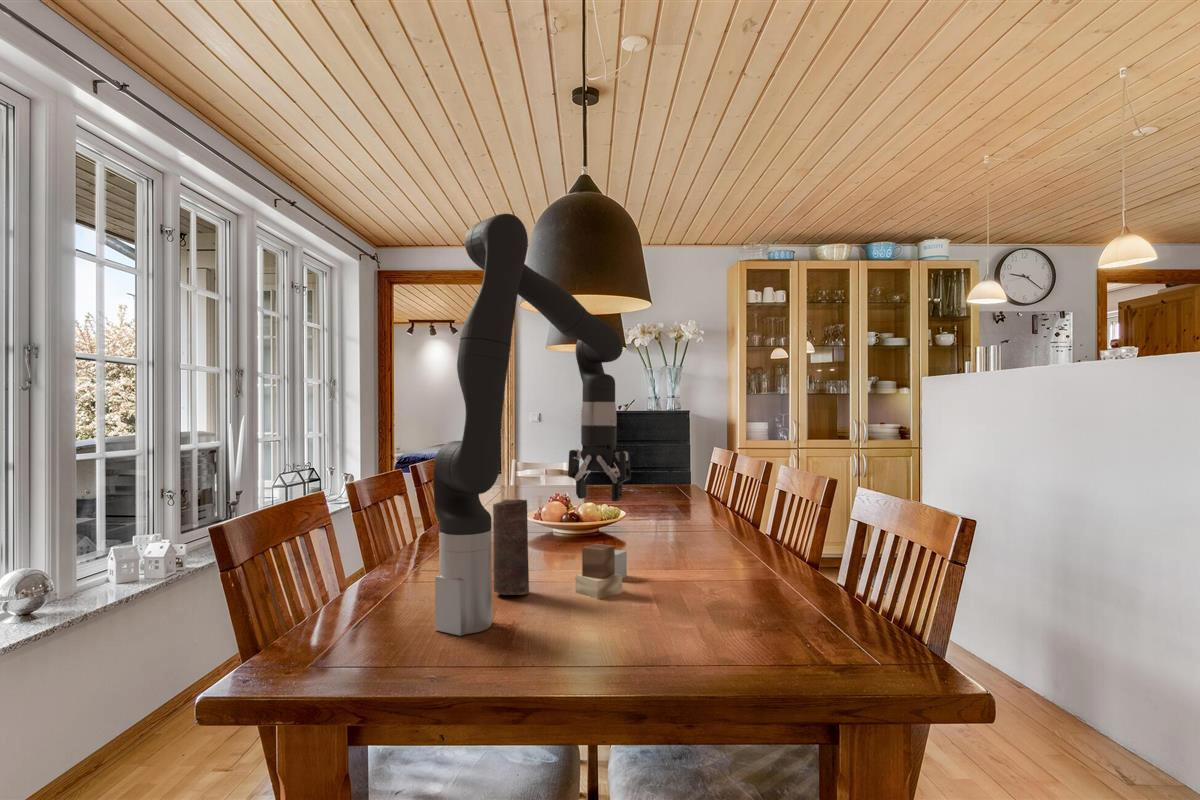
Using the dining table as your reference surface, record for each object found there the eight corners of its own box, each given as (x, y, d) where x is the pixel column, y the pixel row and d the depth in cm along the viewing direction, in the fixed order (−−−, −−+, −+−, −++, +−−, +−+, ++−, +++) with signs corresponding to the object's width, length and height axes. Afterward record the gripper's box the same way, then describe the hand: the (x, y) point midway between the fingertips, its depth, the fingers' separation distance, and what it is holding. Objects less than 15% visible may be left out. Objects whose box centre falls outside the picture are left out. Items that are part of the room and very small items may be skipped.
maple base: (597, 600, 136) (597, 581, 136) (575, 593, 141) (575, 574, 141) (622, 594, 141) (622, 575, 141) (600, 587, 146) (600, 569, 146)
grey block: (615, 581, 150) (615, 555, 150) (597, 578, 152) (596, 552, 152) (626, 577, 154) (626, 551, 154) (608, 574, 157) (608, 548, 157)
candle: (510, 602, 134) (510, 503, 134) (485, 596, 139) (485, 500, 139) (536, 593, 140) (535, 498, 140) (511, 588, 145) (511, 496, 145)
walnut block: (602, 579, 137) (602, 550, 138) (582, 576, 140) (582, 547, 140) (614, 574, 142) (614, 545, 142) (594, 571, 144) (594, 543, 144)
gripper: (561, 423, 142) (561, 499, 142) (618, 424, 134) (618, 504, 134) (580, 422, 148) (580, 495, 148) (636, 423, 141) (636, 500, 140)
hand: (598, 499), depth 141 cm, fingers open, 8 cm apart
